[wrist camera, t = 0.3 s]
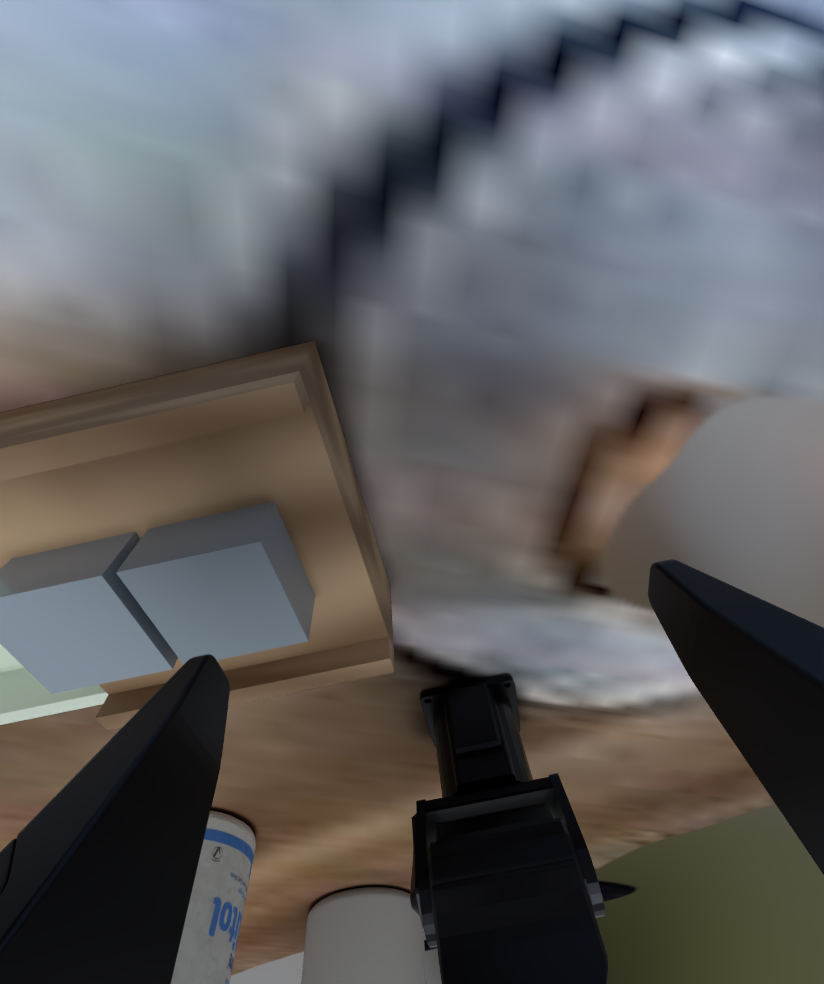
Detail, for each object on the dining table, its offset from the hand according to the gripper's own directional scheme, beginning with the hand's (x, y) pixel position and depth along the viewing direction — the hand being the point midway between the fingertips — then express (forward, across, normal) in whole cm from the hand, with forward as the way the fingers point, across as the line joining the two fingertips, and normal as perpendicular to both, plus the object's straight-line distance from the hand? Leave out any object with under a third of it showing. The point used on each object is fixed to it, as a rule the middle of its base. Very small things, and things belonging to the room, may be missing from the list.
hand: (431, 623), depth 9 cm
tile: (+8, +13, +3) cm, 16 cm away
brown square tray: (+13, +10, +3) cm, 16 cm away
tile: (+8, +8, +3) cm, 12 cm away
